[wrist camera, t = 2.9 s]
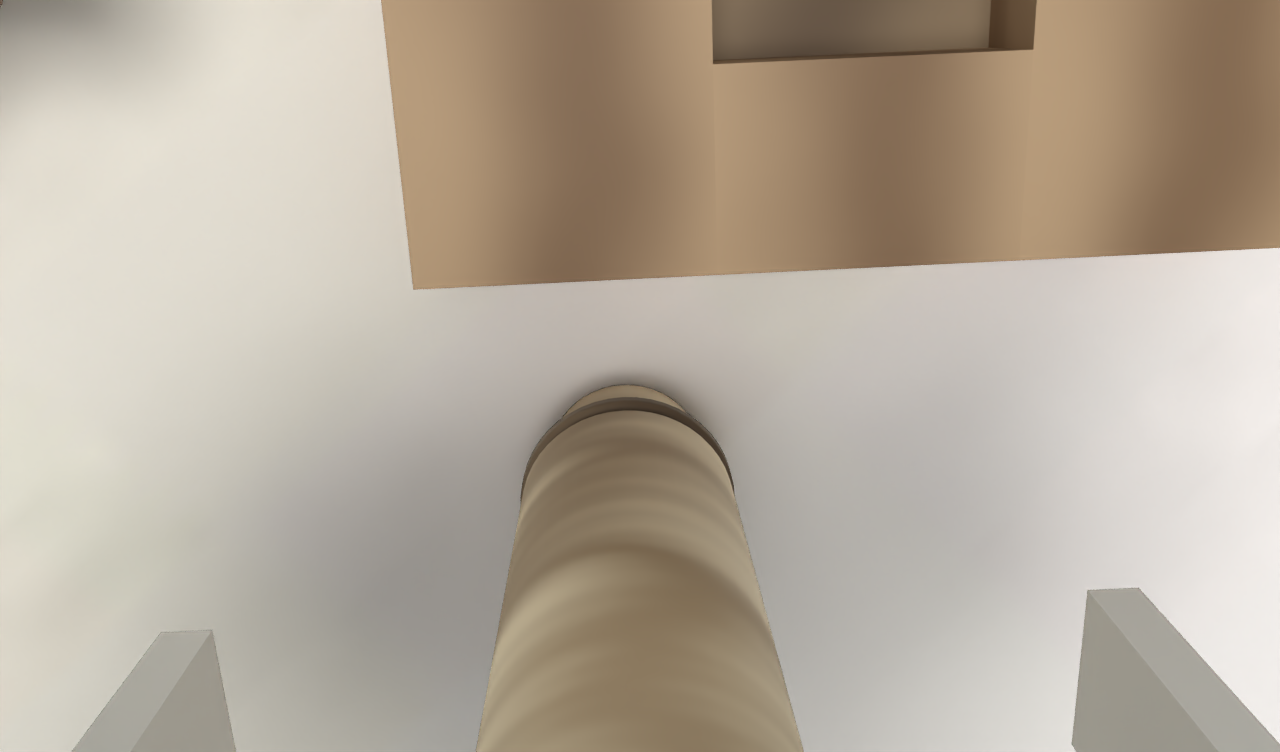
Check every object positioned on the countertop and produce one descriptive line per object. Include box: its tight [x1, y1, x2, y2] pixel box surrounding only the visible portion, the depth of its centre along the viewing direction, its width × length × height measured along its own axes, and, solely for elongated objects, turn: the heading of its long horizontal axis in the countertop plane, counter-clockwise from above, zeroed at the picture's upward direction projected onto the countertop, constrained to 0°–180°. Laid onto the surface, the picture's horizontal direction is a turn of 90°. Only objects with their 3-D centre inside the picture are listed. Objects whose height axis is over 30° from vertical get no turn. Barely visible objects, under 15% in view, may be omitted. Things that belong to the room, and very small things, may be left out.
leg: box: [476, 385, 804, 752], centre depth 18 cm, size 5×5×16 cm
